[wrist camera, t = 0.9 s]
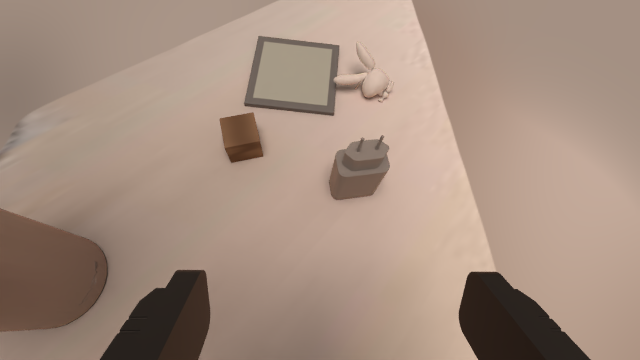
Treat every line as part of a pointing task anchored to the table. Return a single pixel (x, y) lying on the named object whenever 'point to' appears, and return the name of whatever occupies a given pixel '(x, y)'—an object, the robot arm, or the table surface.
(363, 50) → the rabbit figurine
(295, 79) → the pad
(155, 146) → the table surface
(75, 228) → the table surface
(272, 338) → the table surface
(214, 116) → the table surface
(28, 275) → the robot arm
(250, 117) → the walnut block
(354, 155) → the power adapter
